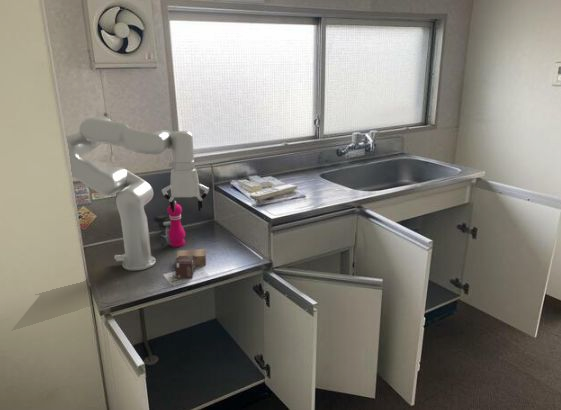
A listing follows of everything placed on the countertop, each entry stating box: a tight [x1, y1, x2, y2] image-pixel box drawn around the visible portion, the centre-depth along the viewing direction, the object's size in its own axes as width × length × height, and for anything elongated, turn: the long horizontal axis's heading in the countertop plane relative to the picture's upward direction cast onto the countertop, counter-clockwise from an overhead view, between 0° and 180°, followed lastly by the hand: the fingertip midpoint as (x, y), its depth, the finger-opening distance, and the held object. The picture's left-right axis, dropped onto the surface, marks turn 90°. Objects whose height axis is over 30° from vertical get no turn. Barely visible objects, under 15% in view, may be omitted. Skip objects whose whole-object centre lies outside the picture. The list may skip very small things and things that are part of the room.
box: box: [174, 255, 196, 279], centre depth 165 cm, size 6×6×7 cm
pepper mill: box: [167, 200, 186, 248], centre depth 192 cm, size 7×7×20 cm
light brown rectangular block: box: [175, 248, 207, 267], centre depth 176 cm, size 11×7×4 cm, turn 97°
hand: (186, 210), depth 166 cm, fingers open, 9 cm apart
